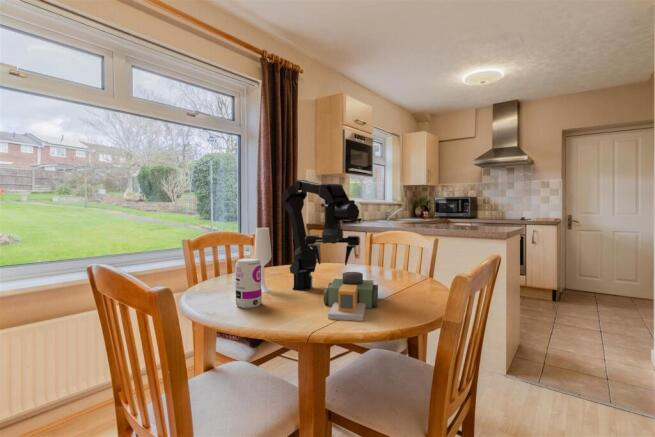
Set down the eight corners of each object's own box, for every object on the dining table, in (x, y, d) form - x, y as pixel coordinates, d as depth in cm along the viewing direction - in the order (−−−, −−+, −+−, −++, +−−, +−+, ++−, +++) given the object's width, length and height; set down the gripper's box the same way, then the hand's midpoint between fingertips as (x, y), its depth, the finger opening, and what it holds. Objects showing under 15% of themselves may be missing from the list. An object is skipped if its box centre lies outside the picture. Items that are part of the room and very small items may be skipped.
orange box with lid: (338, 311, 98) (338, 291, 98) (341, 303, 107) (341, 284, 106) (354, 312, 98) (355, 292, 97) (357, 303, 106) (357, 285, 105)
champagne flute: (273, 288, 131) (272, 227, 130) (270, 292, 124) (270, 228, 123) (255, 288, 131) (255, 227, 130) (252, 292, 124) (251, 228, 123)
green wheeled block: (315, 318, 97) (315, 287, 96) (330, 294, 121) (330, 270, 121) (375, 321, 94) (375, 290, 93) (378, 297, 118) (378, 272, 118)
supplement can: (266, 302, 112) (265, 258, 111) (252, 310, 104) (252, 262, 104) (245, 300, 115) (244, 257, 114) (230, 307, 107) (230, 261, 106)
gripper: (300, 220, 109) (300, 268, 110) (357, 221, 106) (357, 270, 107) (308, 219, 120) (308, 262, 121) (360, 219, 117) (360, 263, 118)
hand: (332, 264), depth 116 cm, fingers open, 9 cm apart
